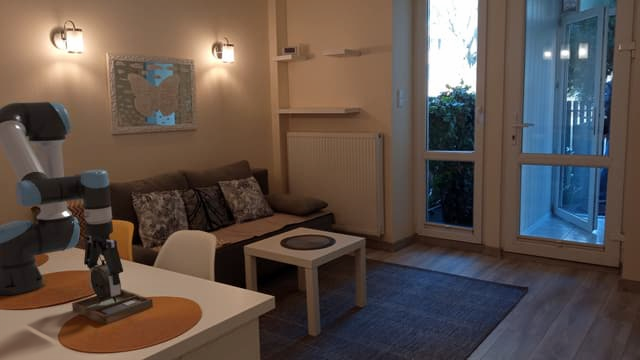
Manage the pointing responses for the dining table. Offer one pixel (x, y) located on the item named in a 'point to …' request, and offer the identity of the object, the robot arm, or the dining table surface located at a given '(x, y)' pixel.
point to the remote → (120, 306)
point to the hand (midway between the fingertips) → (105, 291)
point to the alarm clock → (102, 281)
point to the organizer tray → (93, 308)
